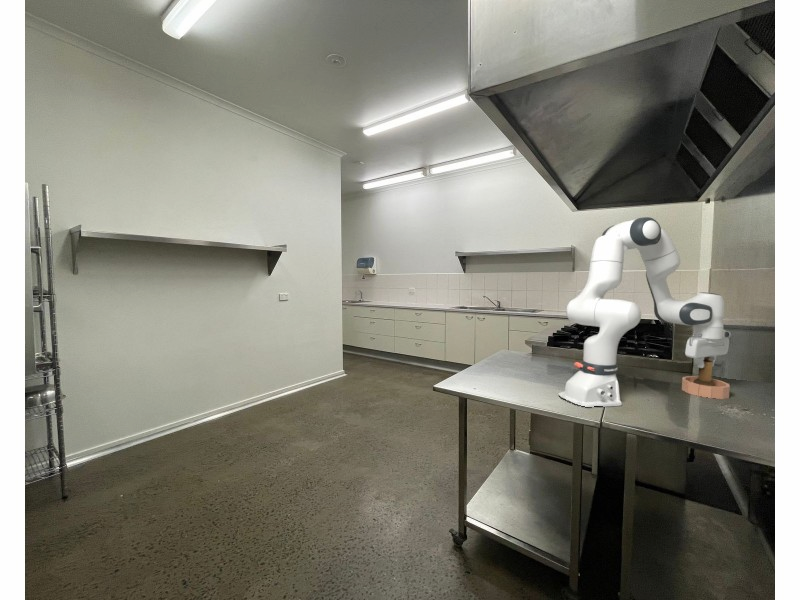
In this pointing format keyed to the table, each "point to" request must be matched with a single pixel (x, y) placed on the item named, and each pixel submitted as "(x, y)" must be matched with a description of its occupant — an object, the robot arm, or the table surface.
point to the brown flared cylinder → (705, 374)
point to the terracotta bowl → (706, 388)
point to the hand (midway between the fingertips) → (705, 367)
